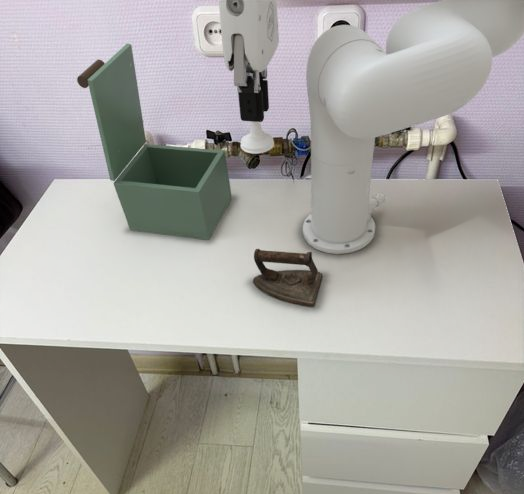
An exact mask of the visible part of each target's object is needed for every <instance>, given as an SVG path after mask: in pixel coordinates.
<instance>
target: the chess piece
mask: <svg viewBox="0 0 524 494" xmlns="http://www.w3.org/2000/svg"><path fill="white" fill-rule="evenodd" d="M248 76H252V78H253V73H250V75H248ZM239 146H240V149H241V151H243V152H244V153H247V154H253V155H256V154H263V153H267V152H269V151H270V150H272V149H273V148H274V147H275V141H274V137H273V136H272V135H271V134H270V133H268V132H265V131H263V129H262V124H261V122H253V121H250V131H249V132H248V133H246V134H245V135H244V136H242V137H241V139H240V145H239Z"/></svg>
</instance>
